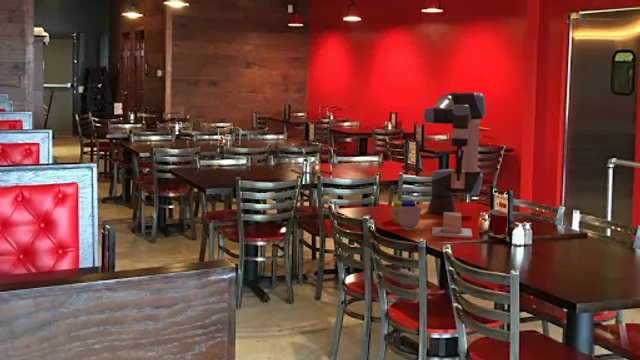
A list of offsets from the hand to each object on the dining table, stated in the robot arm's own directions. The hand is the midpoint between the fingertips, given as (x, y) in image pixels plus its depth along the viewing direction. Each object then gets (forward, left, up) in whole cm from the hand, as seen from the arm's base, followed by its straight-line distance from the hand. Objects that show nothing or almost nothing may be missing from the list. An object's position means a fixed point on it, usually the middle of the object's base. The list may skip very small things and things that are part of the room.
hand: (457, 186), depth 381 cm
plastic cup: (-6, +22, -21) cm, 31 cm away
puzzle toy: (+6, -31, -21) cm, 38 cm away
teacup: (+19, -15, -21) cm, 32 cm away
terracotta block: (0, 0, 0) cm, 0 cm away
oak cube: (+7, +4, -20) cm, 21 cm away
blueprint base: (+7, +4, -21) cm, 22 cm away
